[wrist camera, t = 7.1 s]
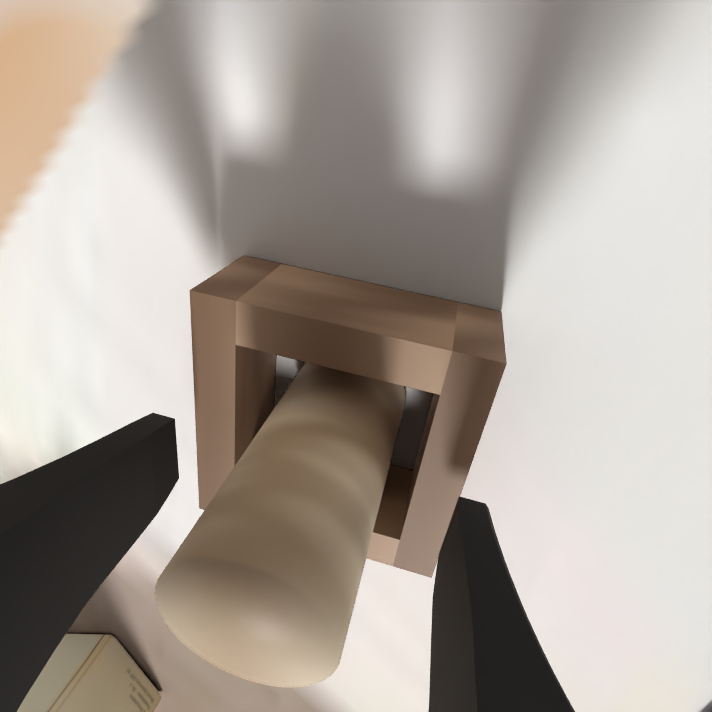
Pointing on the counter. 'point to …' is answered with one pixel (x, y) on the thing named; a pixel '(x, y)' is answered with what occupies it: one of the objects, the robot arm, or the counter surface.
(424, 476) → the walnut holder
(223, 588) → the beech peg
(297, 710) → the counter surface
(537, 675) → the robot arm
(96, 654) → the skincare box
